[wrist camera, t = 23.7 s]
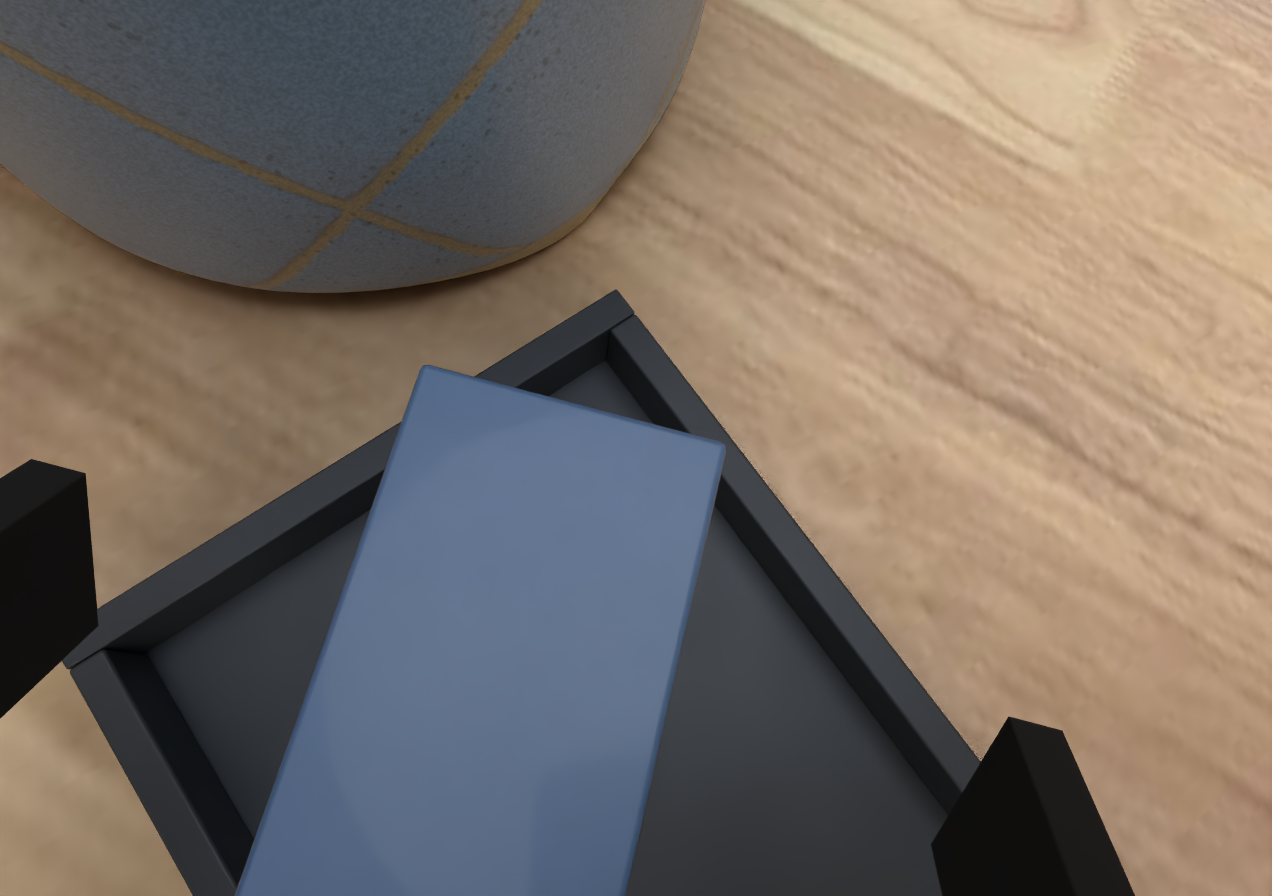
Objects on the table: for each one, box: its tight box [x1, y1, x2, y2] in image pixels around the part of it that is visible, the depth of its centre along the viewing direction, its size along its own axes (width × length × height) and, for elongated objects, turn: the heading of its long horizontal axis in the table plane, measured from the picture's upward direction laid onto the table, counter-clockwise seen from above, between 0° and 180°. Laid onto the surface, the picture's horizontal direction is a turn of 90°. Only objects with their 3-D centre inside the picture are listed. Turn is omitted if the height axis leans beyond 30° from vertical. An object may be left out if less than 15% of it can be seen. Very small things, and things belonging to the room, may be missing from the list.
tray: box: [62, 290, 981, 896], centre depth 19 cm, size 20×15×3 cm
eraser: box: [235, 365, 726, 896], centre depth 15 cm, size 8×4×11 cm, turn 166°
